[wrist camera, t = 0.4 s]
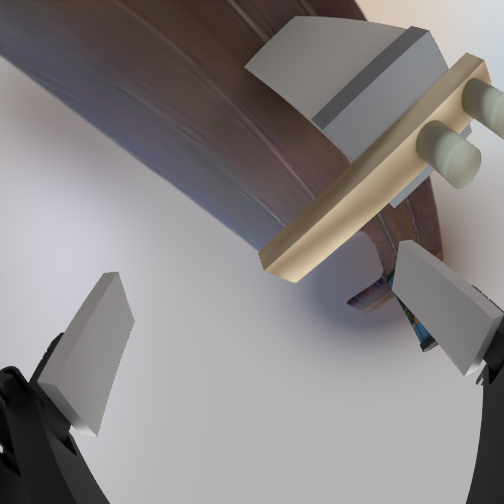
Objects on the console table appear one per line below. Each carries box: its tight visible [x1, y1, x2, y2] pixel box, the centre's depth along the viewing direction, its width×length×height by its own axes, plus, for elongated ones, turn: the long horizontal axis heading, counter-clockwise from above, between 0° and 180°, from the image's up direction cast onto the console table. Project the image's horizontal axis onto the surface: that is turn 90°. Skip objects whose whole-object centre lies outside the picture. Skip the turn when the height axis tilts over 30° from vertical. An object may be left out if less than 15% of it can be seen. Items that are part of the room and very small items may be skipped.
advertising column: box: [387, 269, 438, 352], centre depth 83 cm, size 11×11×30 cm
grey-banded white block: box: [244, 16, 472, 208], centre depth 27 cm, size 12×12×28 cm
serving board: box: [258, 53, 504, 283], centre depth 18 cm, size 4×26×6 cm, turn 139°
